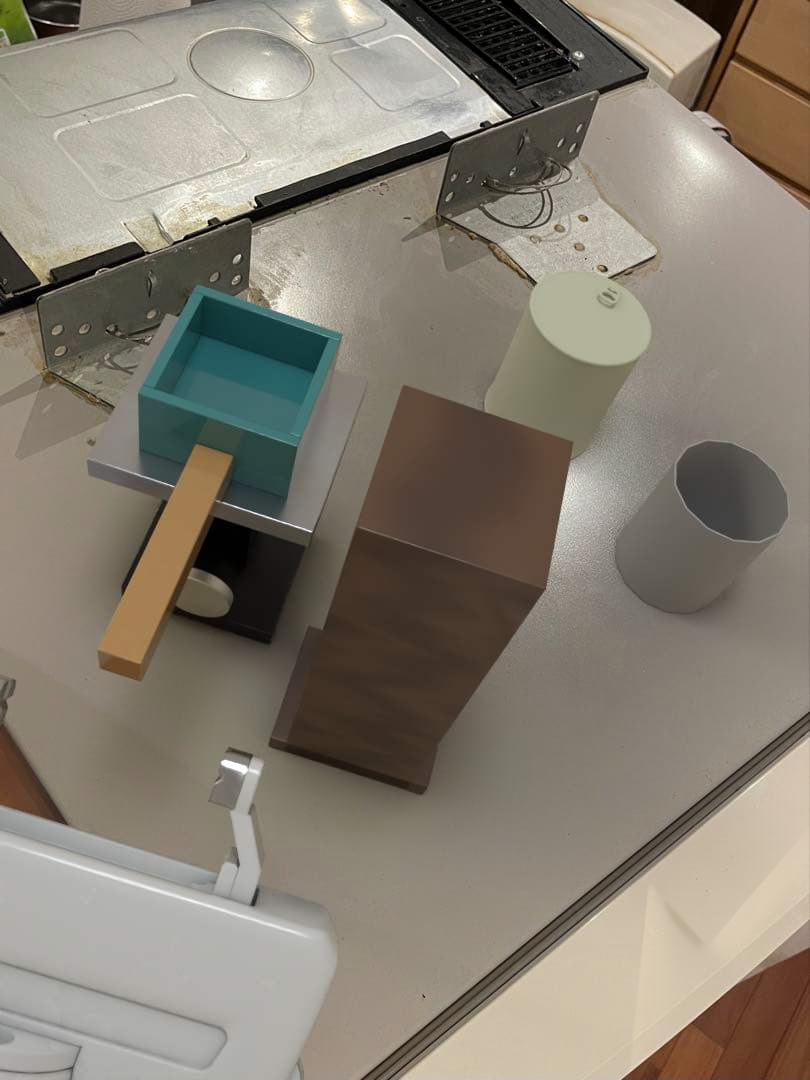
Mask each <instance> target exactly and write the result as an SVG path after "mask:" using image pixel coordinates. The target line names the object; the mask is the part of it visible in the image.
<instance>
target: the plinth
mask: <svg viewBox="0 0 810 1080" xmlns="http://www.w3.org/2000/svg"><path fill="white" fill-rule="evenodd" d="M572 449H573V441H570V440H567V439H564V438H561V437H558V436H555V435H552V434H549V433H546V432H543V431H540V430H537V429H534V428H531V427H528V426H525V425H522V424H519V423H516V422H513V421H510V420H508V419H505V418H502V417H499V416H496V415H493V414H490V413H487V412H485V411H484V410H481V409H477V408H475V407H472V406H469V405H466V404H463V403H460V402H456V401H454V400H451V399H448V398H445V397H443V396H439V395H436V394H433V393H430V392H427V391H424V390H422V389H419V388H415V387H412V386H409V385H406V384H403V385H402V386H401V390H400V393H399V395H398V399H397V401H396V405H395V407H394V411H393V413H392V416H391V420H390V422H389V424H388V428H387V430H386V435H385V438H384V441H383V443H382V446H381V449H380V451H379V455H378V458H377V462H376V465H375V467H374V470H373V474H372V476H371V479H370V482H369V485H368V488H367V492H366V494H365V498H364V500H363V503H362V506H361V510H360V513H359V516H358V518H357V522H356V525H355V528H354V531H353V534H352V537H351V540H350V543H349V546H348V550H347V553H346V555H345V559H344V561H343V565H342V568H341V571H340V574H339V577H338V580H337V584H336V586H335V589H334V593H333V597H332V599H331V601H330V606H329V609H328V612H327V615H326V617H325V621H324V624H323V627H322V629H321V628H318V627H315V626H312V625H308V627H307V629H306V632H305V635H304V639H303V641H302V645H301V647H300V649H299V653H298V655H297V659H296V661H295V665H294V668H293V670H292V673H291V676H290V680H289V682H288V685H287V688H286V691H285V693H284V697H283V700H282V703H281V705H280V709H279V711H278V715H277V718H276V720H275V723H274V725H273V729H272V731H271V735H270V738H269V742H268V747H270V748H274V749H277V750H280V751H283V752H287V753H289V754H292V755H296V756H299V757H302V758H305V759H309V760H311V761H315V762H318V763H321V764H324V765H328V766H331V767H334V768H336V769H340V770H342V771H343V770H344V771H345V772H349V773H352V774H356V775H359V776H362V777H365V778H367V779H368V778H369V779H371V780H375V781H378V782H380V783H384V784H386V785H390V786H394V787H397V788H400V789H404V790H406V791H409V792H413V793H415V794H419V795H424V794H425V793H426V791H427V790H428V788H429V786H430V781H431V777H432V774H433V769H434V764H435V760H436V757H437V752H438V748H439V745H440V743H441V742H442V740H443V739H444V738H445V737H446V735H447V733H448V732H449V730H450V729H451V727H452V726H453V724H455V722H456V720H457V719H458V718H459V715H461V713H462V711H463V710H464V708H465V707H466V706H467V704H468V703H469V701H470V700H471V699H472V697H473V695H474V694H475V693H476V691H477V690H478V689H479V687H480V685H481V684H482V682H483V681H484V680H485V678H486V676H487V675H488V674H489V672H490V671H491V670H492V668H493V666H494V665H495V664H496V663H497V661H498V659H499V658H500V657H501V655H502V654H503V652H504V651H505V649H506V648H507V646H508V645H509V644H510V642H511V641H512V639H513V638H514V636H515V635H516V633H517V632H518V630H519V629H520V628H521V626H522V625H523V623H524V622H525V620H526V619H527V617H528V615H529V614H530V613H531V612H532V610H534V609H533V608H534V607H535V606H536V605H537V603H538V602H539V600H540V599H541V597H542V596H543V594H544V593H545V591H546V590H547V586H548V581H549V580H548V579H549V576H550V571H551V565H552V561H553V555H554V549H555V544H556V538H557V533H558V527H559V523H560V519H561V518H560V516H561V513H562V512H561V511H562V506H563V501H564V495H565V492H566V491H565V490H566V485H567V480H568V475H569V469H570V463H571V460H572V459H571V454H572Z"/></svg>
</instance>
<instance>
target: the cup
mask: <svg viewBox="0 0 810 1080" xmlns="http://www.w3.org/2000/svg"><path fill="white" fill-rule="evenodd" d="M790 508H791V507H790V494H789V492H788V490H787V488H786V487H785V485H784V483H783V481H782V479H781V478H780V475H779V474H778V472H777V470H775V469H774V468H773V467H772V466H771V465H770V464H769V463H767V462H766V460H764V459H763V457H761V455H759V454H757V452H755V451H752V450H750V449H748V448H746V447H744V446H742V445H740V444H738V443H735V442H733V441H729V440H718V439H706V438H705V439H703V440H701V441H698V442H695V443H692V444H689V445H687V446H686V447H685V448H684V449H683V450H682V452H681V453H680V454H679V456H678V457H677V459H676V460H675V461H674V462H673V464H672V465H671V466H670V468H668V471H667V472H666V473H665V475H663V477H662V478H661V480H660V481H659V482H658V483H657V485H655V487H654V489H653V490H652V491H651V493H650V494H649V496H648V497H647V498H646V499H645V501H644V502H643V503H642V505H641V506H640V508H639V509H638V510H637V512H636V513H635V514H634V516H633V517H632V518H631V520H630V521H629V522H628V524H627V525H626V526H625V528H624V529H623V530H622V532H621V533H620V535H619V536H618V537H617V538H616V544H615V563H616V565H617V567H618V570H619V572H620V575H621V577H622V580H623V581H624V583H625V584H626V585H627V586H628V588H630V589H631V591H632V592H634V594H636V596H638V597H639V599H641V600H642V602H644V603H647V604H648V605H651V606H653V607H654V608H656V609H659V610H661V611H663V612H665V613H674V614H675V613H678V614H692V613H694V612H697V611H699V610H700V609H703V608H705V607H707V606H709V605H710V604H711V603H713V601H714V600H716V598H717V597H718V596H720V595H721V593H723V591H724V590H725V589H726V588H728V586H729V585H731V584H732V583H733V582H734V580H736V578H738V577H739V576H740V574H742V572H744V571H745V570H746V568H748V567H749V565H751V564H752V563H753V562H754V561H755V560H756V559H757V558H758V557H759V556H760V555H761V554H762V553H763V552H764V550H766V549H767V548H768V547H769V546H770V545H771V544H772V543H773V542H774V541H775V540H776V539H777V538H778V537H779V536H780V535H781V533H782V532H783V530H784V528H785V526H786V525H787V523H788V521H789V519H790V518H791V510H790Z"/></svg>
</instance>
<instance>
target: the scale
mask: <svg viewBox="0 0 810 1080" xmlns="http://www.w3.org/2000/svg"><path fill="white" fill-rule="evenodd" d="M179 317H180V316H176V315H173V314H170V313H166V314H165V316H164V317H163V319H162V320H161V321H162V322H161V323H160V325H159V326H158V328H157V330H156V332H155V334H154V336H153V338H152V339H151V342H150V343H149V345H148V347H147V348H146V350H145V352H144V354H143V355H142V357H141V359H140V361H139V363H138V365H137V367H136V369H135V370H134V372H133V374H132V375H131V378H130V380H129V381H128V383H127V385H126V387H125V388H124V390H123V392H122V393H121V396H120V397H119V399H118V401H117V403H116V404H115V406H114V408H113V410H112V412H111V414H110V416H109V417H108V419H107V421H106V422H105V425H104V426H103V427H102V430H101V431H100V433H99V436H98V437H97V439H96V440H95V442H94V445H93V446H92V448H91V449H90V451H89V454H88V455H87V457H86V463H87V474H88V476H90V477H93V478H96V479H99V480H102V481H105V482H108V483H111V484H114V485H117V486H120V487H123V488H126V489H130V490H132V491H135V492H138V493H141V494H145V495H148V496H151V497H154V498H156V499H158V500H159V499H160V500H162V501H161V502H160V504H159V507H158V509H157V511H156V513H155V515H154V517H153V519H152V521H151V524H150V526H149V527H148V530H147V531H146V534H145V536H144V538H143V540H142V542H141V544H140V546H139V548H138V551H137V553H136V555H135V557H134V559H133V561H132V563H131V565H130V567H129V569H128V571H127V574H126V575H125V577H124V580H123V582H122V584H121V586H120V587H121V598H122V597H123V595H124V592H125V590H126V588H127V586H128V584H129V582H130V580H131V578H132V576H133V574H134V572H135V570H136V567H137V565H138V563H139V561H140V559H141V557H142V555H143V553H144V551H145V549H146V547H147V544H148V542H149V540H150V538H151V536H152V534H153V532H154V530H155V528H156V526H157V524H158V522H159V519H160V517H161V515H162V513H163V511H164V509H165V507H166V505H167V503H168V501H169V499H170V497H171V494H172V492H173V490H174V488H175V486H176V484H177V482H178V480H179V478H180V476H181V474H182V472H183V469H184V467H185V464H182V463H179V462H176V461H173V460H170V459H167V458H164V457H161V456H158V455H155V454H152V453H149V452H146V451H143V450H140V449H139V427H138V392H139V390H140V388H141V386H142V385H143V383H144V381H145V379H146V377H147V375H148V374H149V372H150V370H151V368H152V366H153V364H154V363H155V361H156V359H157V357H158V355H159V353H160V351H161V350H162V348H163V346H164V344H165V342H166V340H167V339H168V337H169V335H170V333H171V331H172V329H173V328H174V326H175V324H176V322H177V320H178V318H179ZM368 383H369V381H368V380H367V379H364V378H363V379H362V378H360V377H357V376H355V375H351V374H348V373H346V372H342V371H340V370H337V369H335V371H334V375H333V380H332V384H331V388H330V391H329V394H328V396H327V399H326V401H325V404H324V406H323V409H322V411H321V414H320V416H319V419H318V422H317V424H316V427H315V429H314V432H313V434H312V437H311V439H310V442H309V444H308V447H307V449H306V452H305V455H304V457H303V460H302V462H301V465H300V467H299V470H298V472H297V475H296V477H295V480H294V482H293V485H292V488H291V490H290V493H289V495H288V498H285V497H282V496H279V495H276V494H273V493H270V492H267V491H263V490H260V489H257V488H254V487H251V486H248V485H245V484H242V483H239V482H236V481H233V480H231V481H230V483H229V485H228V487H227V490H226V492H225V494H224V496H223V499H222V501H221V503H220V506H219V508H218V510H217V512H216V515H215V517H214V519H213V521H212V524H211V526H210V528H209V530H208V533H207V535H206V537H205V540H204V542H203V544H202V546H201V549H200V551H199V553H198V555H197V558H196V560H195V562H194V564H193V567H192V569H191V571H190V574H189V576H188V578H187V580H186V583H185V585H184V587H183V589H182V592H181V594H180V596H179V598H178V601H177V603H176V605H175V608H174V610H173V612H172V615H175V616H179V617H183V618H186V619H189V620H191V621H195V622H198V623H201V624H204V625H207V626H210V627H213V628H215V629H216V628H217V629H220V630H223V631H225V632H229V633H232V634H236V635H238V636H241V637H244V638H247V639H251V640H254V641H257V642H260V643H262V644H266V645H271V643H272V640H273V638H274V635H275V633H276V630H277V627H278V624H279V621H280V618H281V615H282V613H283V610H284V607H285V605H286V602H287V600H288V596H289V595H290V594H289V593H290V591H291V588H292V587H293V583H294V580H295V577H296V575H297V572H298V569H299V566H300V564H301V561H302V559H303V555H304V553H305V549H306V548H310V547H311V546H312V542H313V539H314V538H315V534H316V531H317V528H318V526H319V523H320V520H321V518H322V515H323V511H324V508H325V506H326V503H327V500H328V497H329V494H330V492H331V490H332V486H333V484H334V481H335V479H336V475H337V473H338V470H339V467H340V465H341V462H342V459H343V456H344V453H345V450H346V447H347V446H348V443H349V440H350V437H351V434H352V432H353V428H354V426H355V423H356V420H357V418H358V415H359V412H360V410H361V405H362V404H363V401H364V399H365V394H366V392H367V391H366V390H367V388H368Z"/></svg>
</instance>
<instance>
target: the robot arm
mask: <svg viewBox="0 0 810 1080" xmlns="http://www.w3.org/2000/svg"><path fill="white" fill-rule="evenodd" d="M16 686H17V680H16V679H15V678H12V677H9V676H6V675H3V674H0V726H2V725H3V723H4V721H5V718H6V715H7V712H8V710H9V704H8V701H7V700H9V699H10V698H11V697H13V695H14V693H15V690H16ZM266 760H267V758H266V757H263V756H260V755H256V754H254V753H250V752H248V751H247V752H246V751H244V750H240V749H237V748H233V747H230V746H228V747H227V748H226V750H225V752H224V754H223V757H222V760H221V762H220V764H219V768H218V776H217V777H216V779H215V781H214V783H213V785H212V789H211V792H210V795H209V797H208V802H209V803H212V804H214V805H217V806H221V807H223V808H227V809H229V815H230V820H231V825H232V826H231V827H232V830H233V837H234V842H235V846H234V845H233V846H230V847H228V848H227V851H226V853H225V856H224V859H223V862H222V864H221V867H220V870H219V871H217V870H213V869H209V868H206V867H204V866H201V865H197V864H193V863H190V862H187V861H185V860H181V859H177V858H175V857H171V856H167V855H165V854H161V853H158V852H155V851H152V850H149V849H144V848H142V847H138V846H135V845H132V844H129V843H126V842H124V841H123V842H122V841H120V840H116V839H113V838H110V837H106V836H103V835H100V834H97V833H94V832H90V831H87V830H84V829H81V828H78V827H74V826H71V825H68V824H64V823H61V822H58V821H55V820H51V819H48V818H45V817H42V816H39V815H35V814H32V813H29V812H25V811H22V810H20V809H16V808H13V807H10V806H7V805H3V804H0V1080H305V1071H304V1066H303V1063H302V1060H301V1055H302V1053H303V1052H304V1049H305V1047H306V1046H307V1043H308V1040H309V1039H310V1037H311V1034H312V1033H313V1030H314V1028H315V1026H316V1024H317V1022H318V1019H319V1016H320V1014H321V1012H322V1009H323V1007H324V1004H325V1002H326V999H327V996H328V994H329V991H330V989H331V986H332V984H333V980H334V978H335V976H336V975H335V974H336V972H337V969H338V965H339V958H340V937H339V932H338V930H337V928H336V926H335V922H334V920H333V918H332V916H331V913H330V911H329V909H328V908H327V907H326V906H325V905H323V904H322V903H320V902H317V901H314V900H310V899H307V898H304V897H300V896H297V895H294V894H291V893H287V892H284V891H281V890H278V889H275V888H272V887H269V886H265V885H262V884H259V880H260V877H261V874H262V872H263V866H264V862H265V858H266V853H265V848H264V843H263V839H262V834H261V828H260V823H259V819H258V813H257V809H256V805H255V804H254V803H253V801H254V797H255V794H256V792H257V788H258V785H259V782H260V779H261V777H262V773H263V771H264V767H265V764H266Z"/></svg>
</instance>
